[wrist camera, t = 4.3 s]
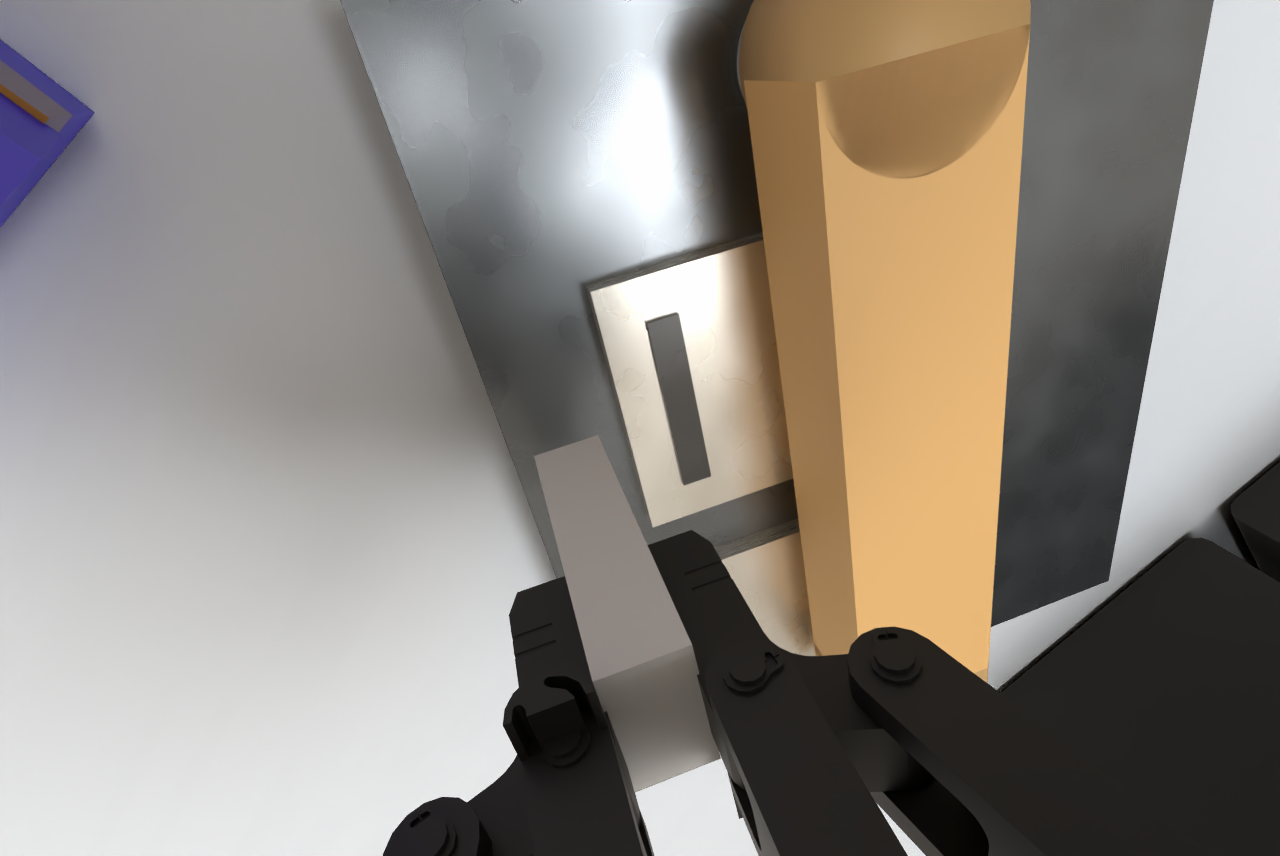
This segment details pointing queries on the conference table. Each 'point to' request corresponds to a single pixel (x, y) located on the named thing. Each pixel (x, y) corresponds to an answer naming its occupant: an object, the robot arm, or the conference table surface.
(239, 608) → the conference table surface
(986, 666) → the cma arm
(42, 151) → the stapler
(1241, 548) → the conference table surface
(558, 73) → the server board
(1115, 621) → the speaker
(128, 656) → the conference table surface
